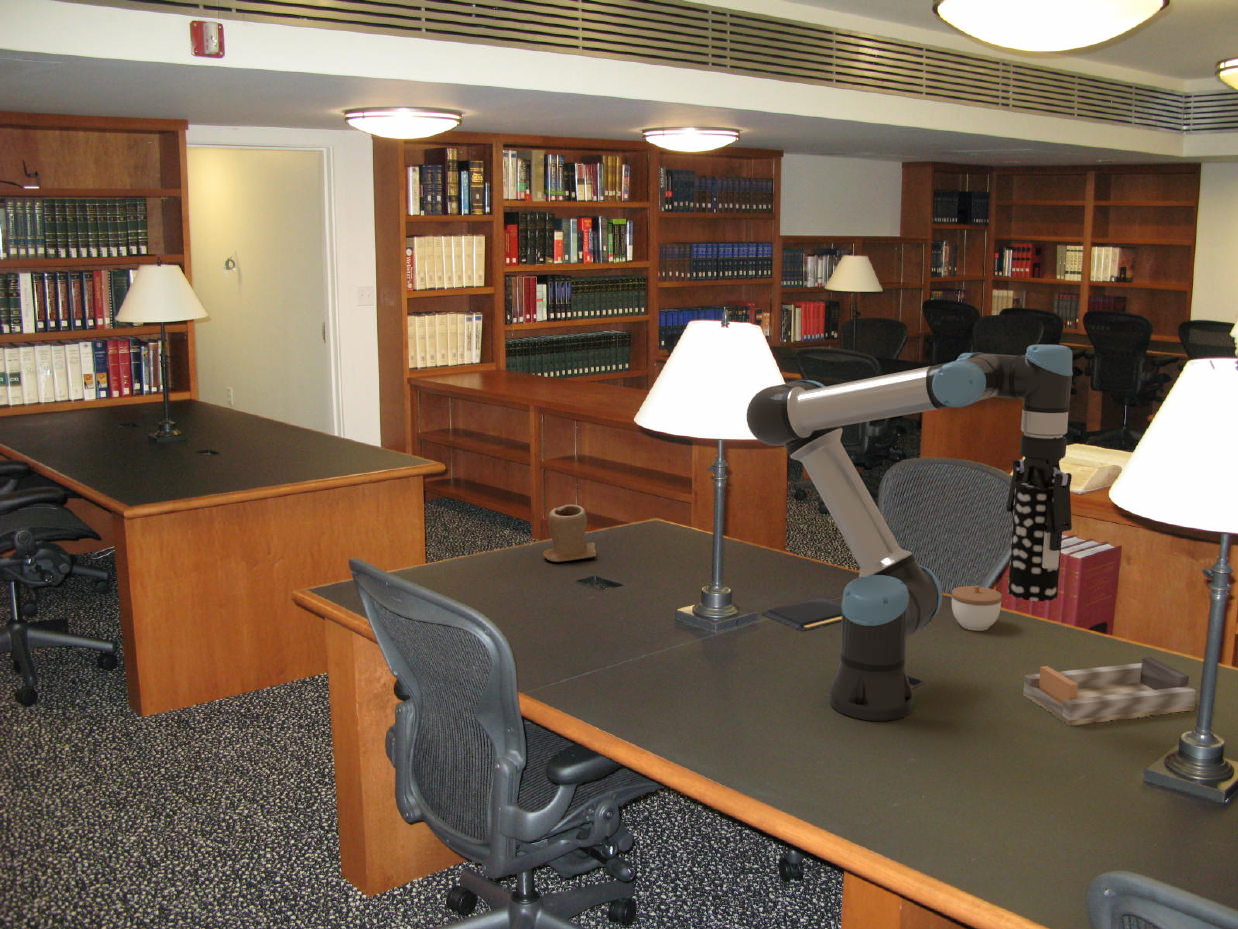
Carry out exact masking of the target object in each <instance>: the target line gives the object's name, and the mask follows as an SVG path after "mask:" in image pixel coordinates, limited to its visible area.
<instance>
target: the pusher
mask: <svg viewBox="0 0 1238 929" xmlns="http://www.w3.org/2000/svg"><path fill="white" fill-rule="evenodd" d="M1058 672H1059V671H1057V670H1055V669H1053V668H1052V667H1050V666H1048V665H1043V666H1040V667H1039V674H1040V676H1039V689H1040V690H1042V691H1043V692H1045V693H1046V694H1048V695H1049V696H1051V697H1053V698H1054V699H1056V700H1057V701H1059V702H1060V703H1062V704H1064V700H1070V699H1077V693H1078V684H1076V683H1075V682H1073V681H1071V680H1070V679H1068V678H1066V677H1065V676H1063V675H1061V674H1060V673H1058Z"/></svg>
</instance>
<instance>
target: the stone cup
mask: <svg viewBox="0 0 1238 929" xmlns="http://www.w3.org/2000/svg"><path fill="white" fill-rule="evenodd" d="M586 513H587V512H586V510H585V509H584V508H583V507H582V506H581V505H577V504H564V505H562V506H559V507H555V508H553V509H552V510H551V511H550V512H549V513H548V514H549V515H548V521H547V522H548V523H547V525H548V530H549V535H550V537H551V540H552V544H553V547H552V548H547V549H546V550H544V551H543V557H544V558H545V559H547V560H548V561H551V562H556V563H557V562H558V563H559V562H569V561H576V560H582V559H589V558H594V557H595V558H596V556H597V551H596V548H595V546H596V543H595V542H592V541H591V542H585V541H584V540H585V536H586V535H585V534H586V530H587V524H588V517H587V514H586Z"/></svg>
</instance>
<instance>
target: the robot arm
mask: <svg viewBox="0 0 1238 929" xmlns="http://www.w3.org/2000/svg"><path fill="white" fill-rule="evenodd" d="M1073 372H1074V371H1073V351H1072V350H1071V348H1070V347H1068V346H1066V345H1060V344H1032V345H1029V346H1027V348H1026V353H1025V354H1022V355H1012V354H1011V355H1010V354H1009V355H1008V354H998V353H997V354H996V353H984V352H963V353H961V354H960V355H959V356H958V358H957V359H956V360H953V361H950V362H945V363H941V364H936V365H931V366H926V367H920V368H916V369H914V368H913V369H911V370H905V371H900V372H895V373H889V374H885V375H879V376H874V377H868V378H864V379H858V380H853V381H848V382H843V383H839V384H838V383H837V384H833V385H828V386H825V385H824V384H823V383H821V382H818V381H816V380H812V379H811V380H808V379H798V380H792V381H791V382H787V383H786V382H785V383H783V384H777V385H771V386H769V387H765V388H763V389H761V390H760V391H758V392H757V393H756V394H755V395H754V396H753V397H752V399H751V400H750V402H749V403H748V407H747V409H746V423H747V426H748V429H749V431H750V433H751V434H752V435H753V437H754V438H756V440H758V441H759V442H761V443H763V444H766V445H767V446H771V447H772V446H773V447H775V446H776V447H777V446H778V447H781V446H783V447H784V448H785V450H786V452H787V454H788V456H789V458H790V459H792V460H796V461H798V462H801V463H802V465H803V467H804V468H805V471H806V473H807V475H808V476H809V477H810V479H811V482H812V483H813V485H814V487H815V489H816V491H817V493H818V494H819V496H820V498H821V499H822V501H823V503H824V505H825V507H826V508H827V510H828V512H829V515H830V516H831V517H832V520H833V521H834V523H835V525H836V527H837V528H838V530H839V532H840V533H841V535H842V538H843V539H844V541H845V543H846V545H847V547H848V549H849V550H850V552H851V553H852V555H853V557H854V559H855V561H856V563H857V565H858V567H859V570H860V571H859V575H858V577H857V578H854V579H852V580H851V581H849V582H848V583H847V584H846V586H845V587H844V589H843V594H842V600H841V605H842V606H841V607H842V622H841V632H840V634H841V635H840V636H841V637H840V639H841V640H840V662H839V665H838V667H837V670H836V673H835V676H834V678H833V680H832V683H831V685H830V689H829V699H828V700H829V705H830V706H831V707H832V708H833V709H834V710H835V711H837V712H839V713H840V714H843V715H845V716H848V717H851V718H855V719H859V720H863V721H880V722H881V721H883V722H884V721H885V722H886V721H893V720H898V719H902V718H904V717H906V716H908V715H910V714H911V712H912V711H913V706H914V696H913V692H912V689H911V684H910V682H909V681H910V680H909V677H908V674H907V670H906V650H907V639H908V637H910V636H912V635H913V634H914V633H915V632H917V631H918V630H920V629H922V628H923V627H924V628H925V627H927V625H929V624H930V623H931V622H932V621H933V619H934V618H935V617H936V616H937V614H938V613H939V611H940V609H941V607H942V602H943V589H942V586H941V582H940V580H939V579H938V577H937V575H935V573H934V572H932V571H931V569H929V568H927V567H924V566H923V565H921V564H919V562H918V560H917V559H916V558H915V556H914V554H913V553H912V551H909V550H906V549H902V548H901V547H900V545H899V543H898V542H897V540H896V538H895V536H894V534H893V533H892V531H891V529H890V527H889V526H888V523H887V522H886V520H885V518H884V516H883V515H882V513H881V512H880V509H879V508H878V506H877V505H876V502H875V501H874V499H873V497H872V496H871V493H870V492H869V490H868V488H867V486H866V485H865V483H864V481H863V479H862V478H861V476H860V473H859V472H858V470H857V468H856V467H855V465H854V463H853V462H852V460H851V458H850V457H849V455H848V453H847V450H846V449H845V448H844V446H843V444H842V442H841V438H842V434H843V427H842V426H848V425H854V424H859V423H865V422H871V421H876V420H884V419H888V418H895V417H900V416H905V415H912V414H917V413H924V412H929V411H935V410H941V409H948V408H949V409H950V408H963V407H968V406H970V405H973V404H975V403H976V402H980V401H983V400H987V399H990V398H991V397H992V398H993V397H994V398H1011V399H1022V411H1021V423H1020V424H1021V425H1020V430H1021V431H1022V432H1023V434H1021V435H1020V441H1019V443H1020V444H1019V455H1020V456H1022V457H1024V459H1014V460H1013V461H1012V476H1011V481H1010V486H1009V491H1008V498H1007V502H1006V503H1007V504H1006V507H1005V508H1006V511H1007V513H1011V516H1012V518H1013V511H1014V496H1015V483H1016V482H1018V481H1021V482H1023V483H1028V482H1029V483H1030V484H1033V485H1036V486H1038V488H1040V489H1053V495H1054V503H1050V502H1048V501H1047V509H1046V521H1047V526H1048V529H1046V530H1045V532H1044V546H1043V559H1042V568H1056V567H1058V563H1059V550H1060V549H1061V550H1062V542H1061V539H1062V538H1063V533H1064V532H1068V531H1071V530H1072V528H1073V526H1072V507H1071V505H1072V504H1071V485H1072V484H1071V483H1072V478H1073V475H1072V473H1070V472H1066V473H1065V472H1063V471H1062V470H1061V466H1060V462H1061V460H1063V459H1064V458H1065V457H1066V453H1067V441H1068V440H1067V439H1068V438H1067V437H1066V436H1065V435H1066V434H1067V433H1068V424H1069V423H1068V422H1069V410H1070V400H1071V399H1070V398H1071V391H1072V390H1071V389H1072V381H1073V380H1072V379H1073V378H1072V377H1073V375H1074V373H1073ZM1047 487H1053V488H1047ZM1054 523H1055V525H1054ZM1062 540H1063V539H1062Z"/></svg>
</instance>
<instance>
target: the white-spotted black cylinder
mask: <svg viewBox="0 0 1238 929" xmlns="http://www.w3.org/2000/svg"><path fill="white" fill-rule="evenodd" d="M1047 488H1053V487H1047ZM1047 501H1048V502H1050V503H1054V495H1053V489H1040V488H1038V486H1036V485H1033V484H1030V483H1029V482H1028V483H1023V482H1021V481H1018V482H1016V483H1015V496H1014V504H1013V505H1014V511H1013V517H1012V526H1011V540H1010V541H1011V543H1010V556H1009V570H1008V585H1007V593H1008V594H1009V595H1010V596H1011V597H1014V598H1016V599H1020V600H1025V601H1030V602H1031V601H1032V602H1049V601H1053V600H1054V601H1055V600H1057V598H1058V591H1059V579H1060V567H1061V566H1060V565H1061V556H1062V555H1061V553H1062V548H1061V549H1060V550H1059V563H1058V567H1056V568H1042V559H1043V546H1044V532H1045V530H1046V529H1048V526H1047V521H1046V509H1047ZM1054 525H1055V523H1054ZM1062 540H1063V539H1061V543H1063V542H1062Z"/></svg>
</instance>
